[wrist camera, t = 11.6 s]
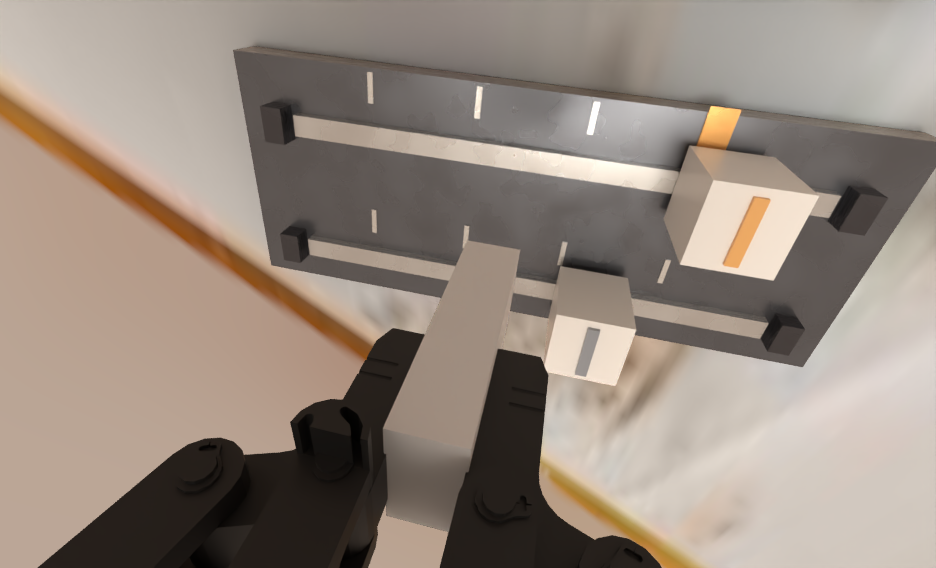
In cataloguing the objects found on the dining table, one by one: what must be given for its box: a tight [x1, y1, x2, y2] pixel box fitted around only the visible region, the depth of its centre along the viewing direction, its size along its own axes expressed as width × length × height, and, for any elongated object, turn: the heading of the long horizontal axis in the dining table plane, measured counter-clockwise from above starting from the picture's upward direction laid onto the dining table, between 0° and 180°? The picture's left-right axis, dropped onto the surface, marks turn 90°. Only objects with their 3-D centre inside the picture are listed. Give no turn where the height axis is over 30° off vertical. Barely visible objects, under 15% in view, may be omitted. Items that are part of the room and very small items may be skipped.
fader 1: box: [544, 266, 636, 386], centre depth 26 cm, size 4×4×5 cm
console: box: [233, 46, 936, 367], centre depth 27 cm, size 14×36×3 cm, turn 85°
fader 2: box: [664, 145, 819, 281], centre depth 21 cm, size 4×4×5 cm
